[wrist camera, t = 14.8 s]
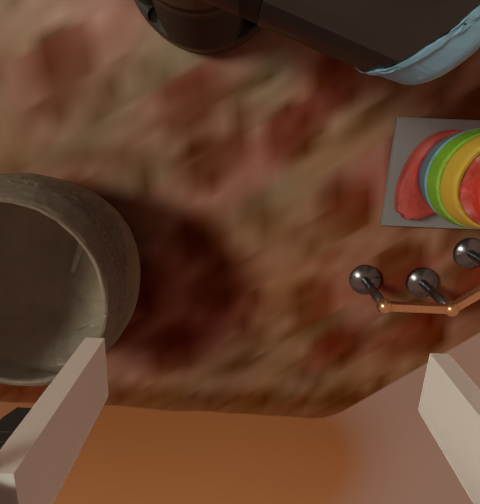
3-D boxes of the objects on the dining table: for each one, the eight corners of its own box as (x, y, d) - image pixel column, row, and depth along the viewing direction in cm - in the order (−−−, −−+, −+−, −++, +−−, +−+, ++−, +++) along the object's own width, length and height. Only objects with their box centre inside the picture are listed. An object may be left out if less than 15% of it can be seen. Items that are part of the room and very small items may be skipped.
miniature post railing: (355, 232, 48) (377, 255, 40) (486, 238, 48) (535, 262, 40) (347, 291, 50) (366, 324, 42) (473, 297, 50) (516, 331, 42)
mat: (396, 117, 44) (398, 116, 44) (506, 121, 44) (510, 121, 43) (380, 223, 48) (382, 225, 47) (482, 228, 48) (485, 229, 47)
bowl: (136, 151, 46) (85, 163, 32) (172, 315, 52) (143, 388, 38) (-38, 178, 47) (-163, 201, 33) (17, 335, 53) (-68, 412, 39)
